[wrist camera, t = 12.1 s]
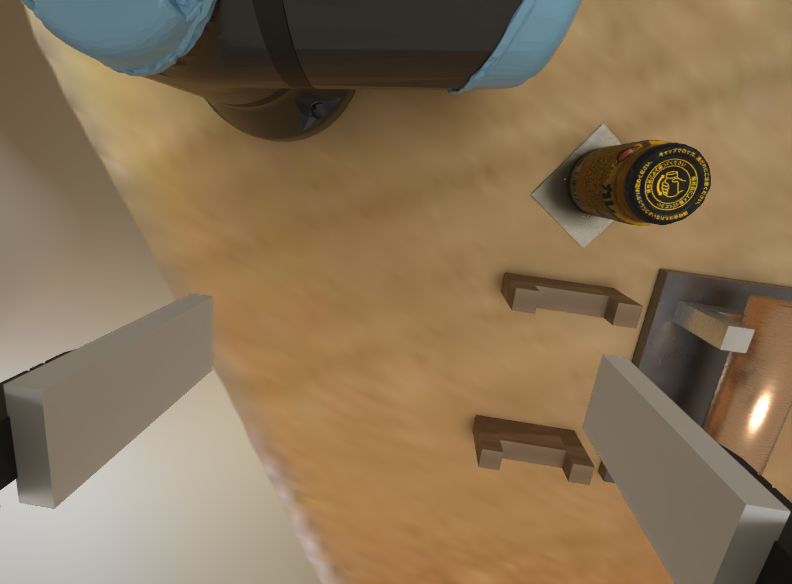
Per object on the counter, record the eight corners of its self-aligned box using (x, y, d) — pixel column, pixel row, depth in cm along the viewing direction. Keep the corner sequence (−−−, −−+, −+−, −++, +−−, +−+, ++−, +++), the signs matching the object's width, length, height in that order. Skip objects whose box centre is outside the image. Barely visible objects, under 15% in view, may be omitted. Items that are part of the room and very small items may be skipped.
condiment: (655, 181, 39) (750, 183, 27) (582, 248, 41) (641, 275, 29) (602, 123, 38) (676, 100, 26) (530, 194, 40) (569, 201, 29)
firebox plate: (659, 268, 41) (716, 292, 33) (811, 290, 40) (908, 319, 32) (598, 471, 47) (633, 533, 39) (728, 493, 46) (792, 560, 38)
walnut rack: (504, 272, 42) (516, 288, 36) (613, 288, 42) (642, 306, 36) (472, 431, 47) (478, 466, 41) (569, 446, 46) (589, 485, 41)
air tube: (732, 291, 37) (781, 309, 32) (794, 300, 37) (853, 320, 32) (657, 500, 43) (689, 544, 38) (710, 508, 43) (749, 554, 38)
